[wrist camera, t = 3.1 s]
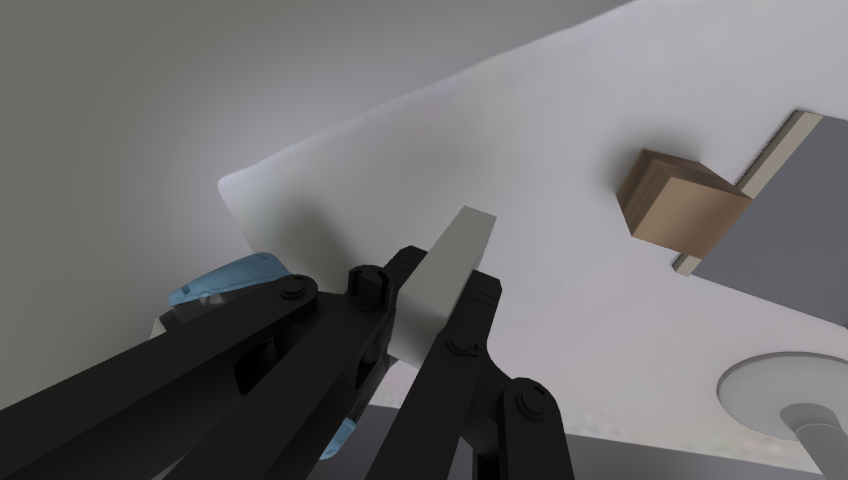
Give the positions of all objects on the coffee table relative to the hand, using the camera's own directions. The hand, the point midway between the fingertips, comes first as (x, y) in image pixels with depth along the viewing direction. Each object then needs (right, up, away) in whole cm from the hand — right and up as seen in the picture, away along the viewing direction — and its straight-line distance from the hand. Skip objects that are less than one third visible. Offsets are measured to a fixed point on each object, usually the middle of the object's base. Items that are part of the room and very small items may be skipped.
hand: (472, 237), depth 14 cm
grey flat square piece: (+33, +1, +13) cm, 36 cm away
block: (+21, +6, +16) cm, 27 cm away
